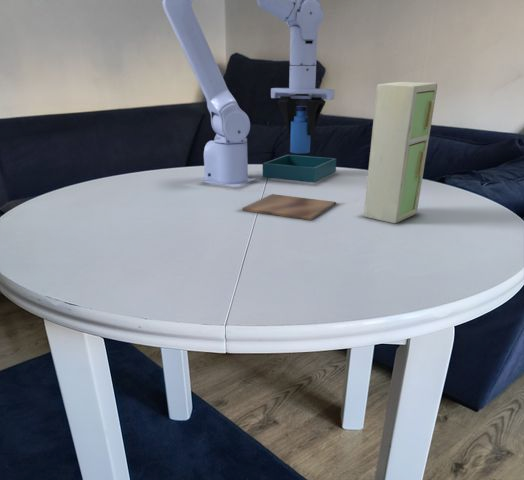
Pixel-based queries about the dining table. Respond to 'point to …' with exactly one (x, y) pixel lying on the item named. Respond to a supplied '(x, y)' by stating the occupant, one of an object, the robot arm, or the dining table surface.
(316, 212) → the brown wooden board
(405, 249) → the dining table surface
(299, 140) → the water bottle
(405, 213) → the toy refrigerator
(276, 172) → the teal square tray
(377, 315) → the dining table surface
